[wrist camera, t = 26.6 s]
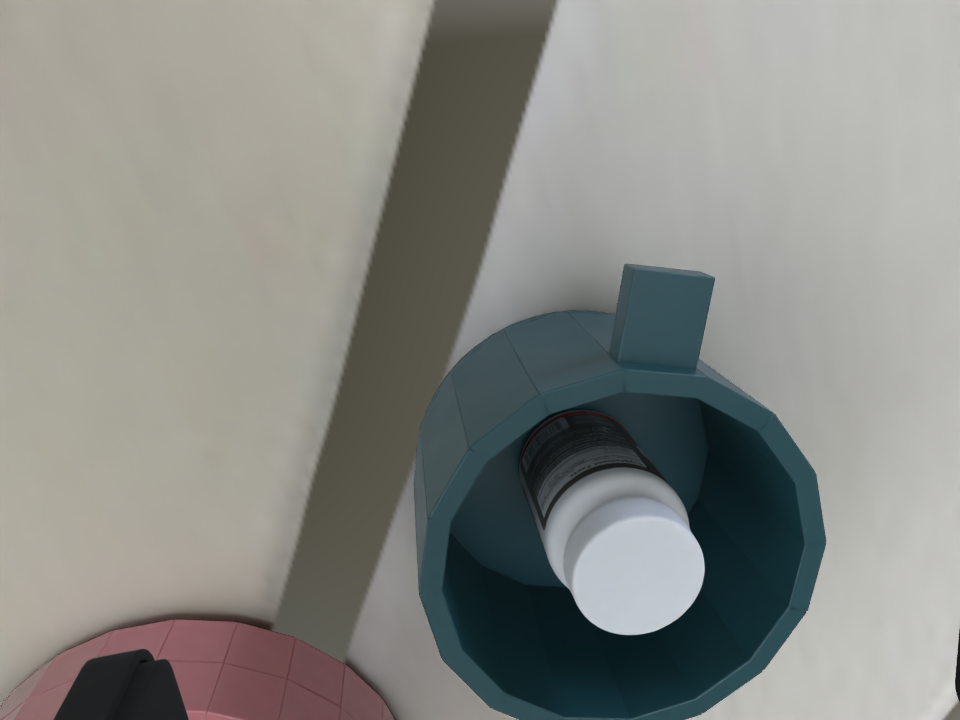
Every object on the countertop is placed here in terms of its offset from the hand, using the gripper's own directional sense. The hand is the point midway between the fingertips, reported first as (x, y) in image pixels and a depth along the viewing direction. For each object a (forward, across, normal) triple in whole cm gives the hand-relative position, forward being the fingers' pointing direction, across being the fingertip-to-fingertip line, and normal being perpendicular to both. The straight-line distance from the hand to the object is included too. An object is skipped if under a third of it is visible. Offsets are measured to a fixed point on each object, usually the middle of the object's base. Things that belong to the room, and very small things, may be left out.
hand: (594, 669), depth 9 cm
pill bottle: (+20, -4, +7) cm, 21 cm away
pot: (+20, -4, +8) cm, 22 cm away
